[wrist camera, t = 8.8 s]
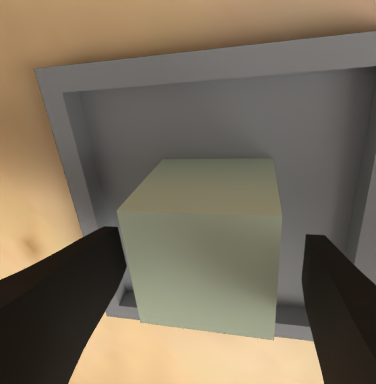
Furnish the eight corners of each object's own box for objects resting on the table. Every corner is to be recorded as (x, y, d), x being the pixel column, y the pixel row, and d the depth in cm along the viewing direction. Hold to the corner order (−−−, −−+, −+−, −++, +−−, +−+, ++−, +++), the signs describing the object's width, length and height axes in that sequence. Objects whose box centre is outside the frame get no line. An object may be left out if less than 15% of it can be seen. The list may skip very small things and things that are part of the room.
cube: (273, 158, 12) (282, 216, 8) (268, 252, 14) (273, 339, 10) (162, 159, 13) (116, 210, 9) (173, 246, 15) (140, 322, 11)
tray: (406, 29, 10) (439, 24, 8) (349, 314, 16) (360, 346, 14) (63, 66, 13) (33, 68, 12) (120, 292, 19) (107, 316, 17)
